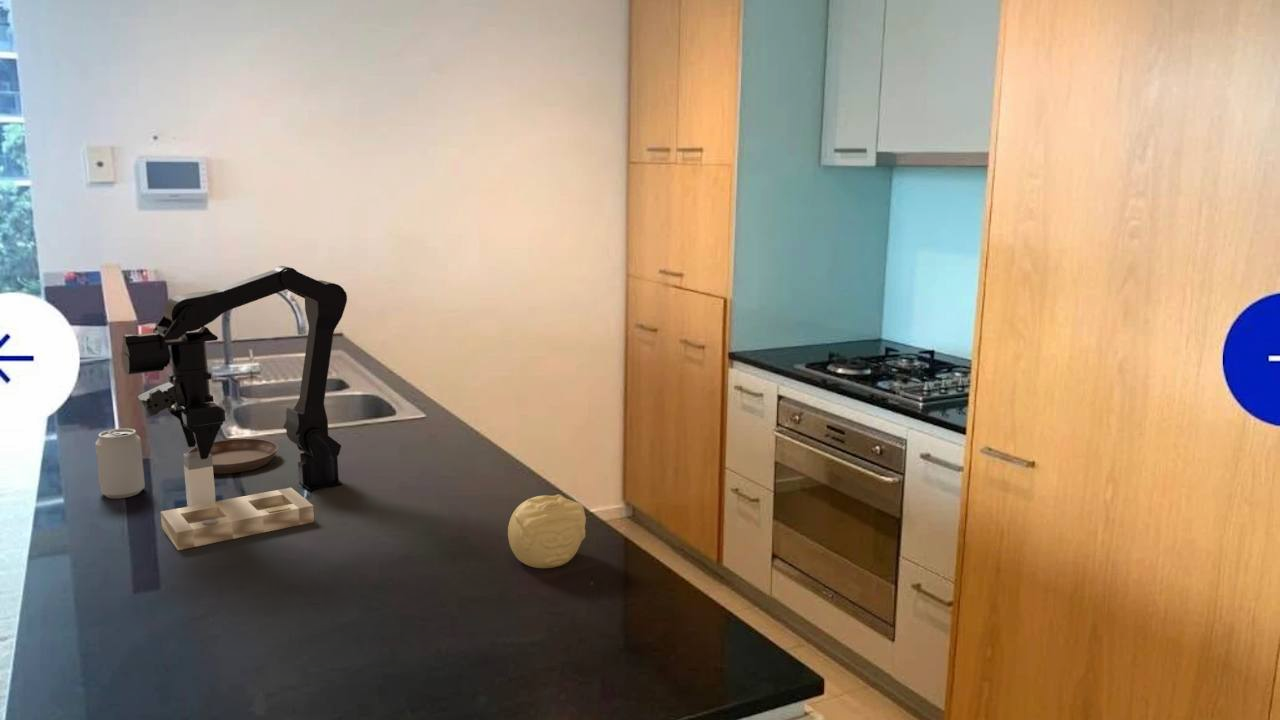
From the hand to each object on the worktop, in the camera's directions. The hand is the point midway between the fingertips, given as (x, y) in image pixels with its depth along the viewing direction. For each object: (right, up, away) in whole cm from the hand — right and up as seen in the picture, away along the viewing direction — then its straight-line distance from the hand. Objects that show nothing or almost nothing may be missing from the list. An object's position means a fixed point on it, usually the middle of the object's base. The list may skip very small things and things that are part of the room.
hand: (197, 452), depth 177 cm
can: (-18, -9, +10) cm, 22 cm away
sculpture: (+64, -15, -21) cm, 69 cm away
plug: (0, -10, +2) cm, 10 cm away
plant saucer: (-5, -5, +29) cm, 30 cm away
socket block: (+10, -12, -6) cm, 17 cm away
